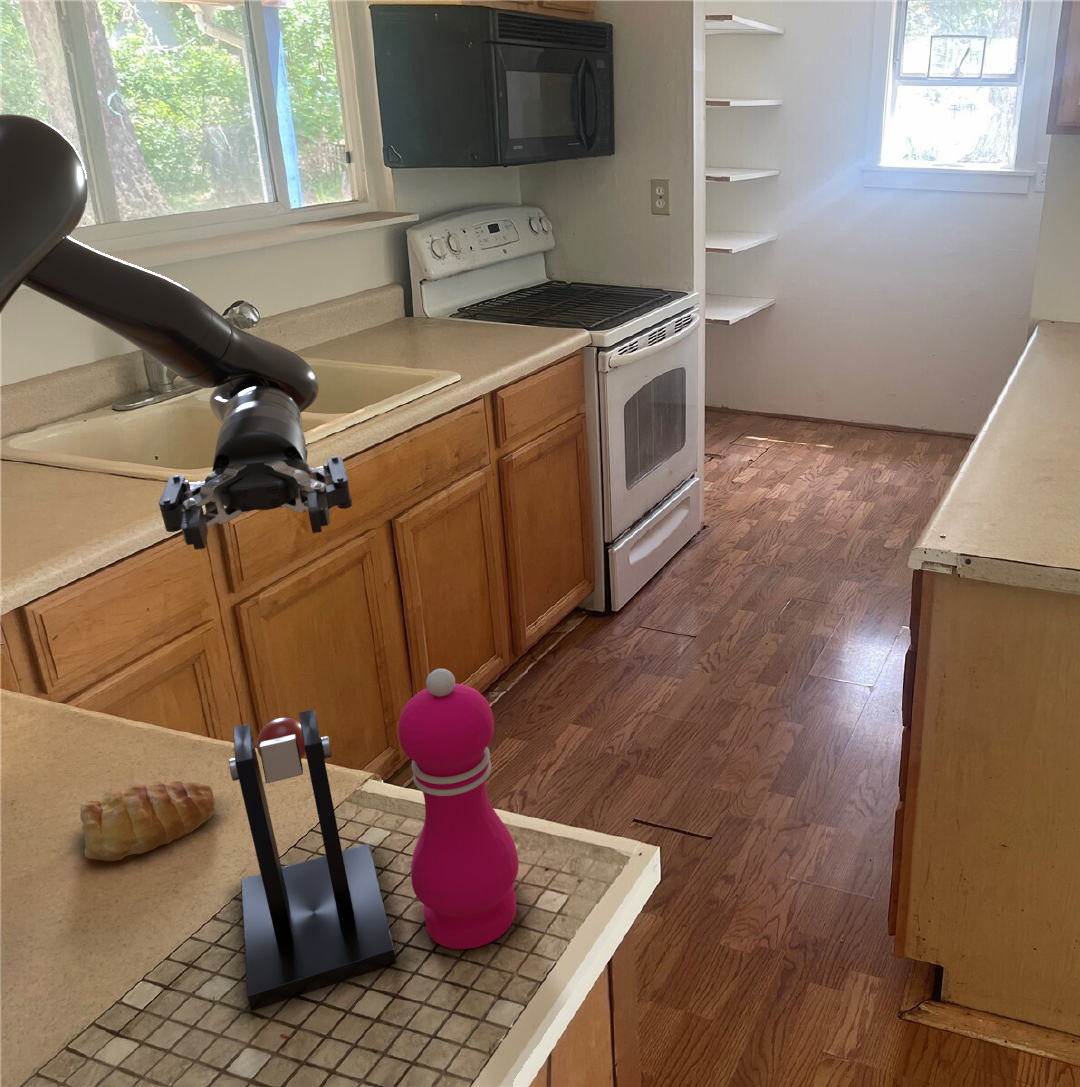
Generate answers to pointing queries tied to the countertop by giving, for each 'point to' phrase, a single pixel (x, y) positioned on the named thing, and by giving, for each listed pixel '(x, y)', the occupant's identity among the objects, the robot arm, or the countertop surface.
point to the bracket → (306, 892)
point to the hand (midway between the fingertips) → (257, 530)
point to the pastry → (143, 817)
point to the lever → (281, 749)
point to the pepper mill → (458, 816)
